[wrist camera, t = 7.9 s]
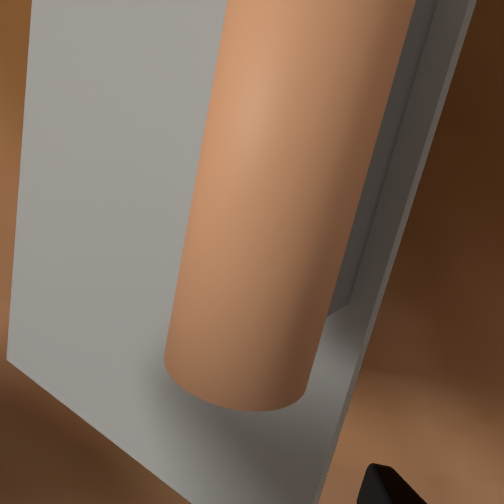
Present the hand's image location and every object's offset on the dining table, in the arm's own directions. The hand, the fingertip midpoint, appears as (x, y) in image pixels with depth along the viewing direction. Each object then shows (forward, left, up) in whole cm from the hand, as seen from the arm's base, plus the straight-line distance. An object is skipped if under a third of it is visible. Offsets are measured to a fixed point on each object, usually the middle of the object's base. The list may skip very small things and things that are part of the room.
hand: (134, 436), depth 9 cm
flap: (+6, +1, -5) cm, 8 cm away
